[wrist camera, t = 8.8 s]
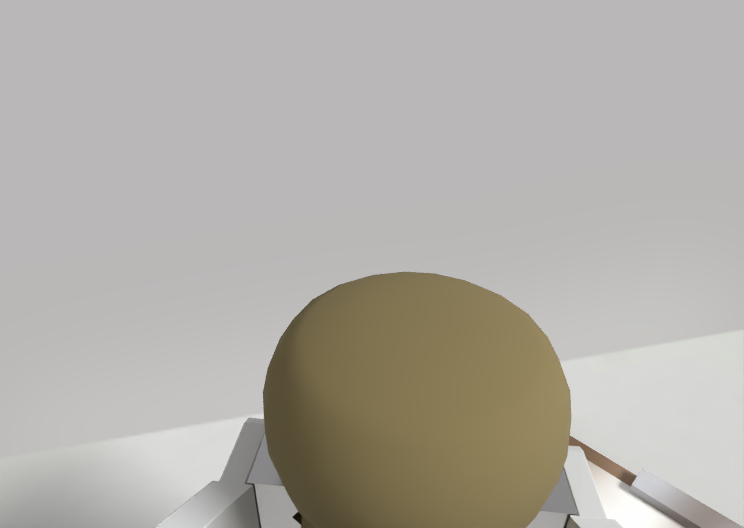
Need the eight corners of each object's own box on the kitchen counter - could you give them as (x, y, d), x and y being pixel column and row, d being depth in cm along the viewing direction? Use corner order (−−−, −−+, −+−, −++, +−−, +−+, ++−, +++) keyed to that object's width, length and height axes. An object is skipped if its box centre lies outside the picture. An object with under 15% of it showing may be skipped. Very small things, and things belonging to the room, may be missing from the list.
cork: (290, 542, 16) (254, 235, 10) (475, 532, 16) (537, 231, 11) (267, 822, 10) (168, 501, 5) (543, 798, 11) (733, 475, 5)
